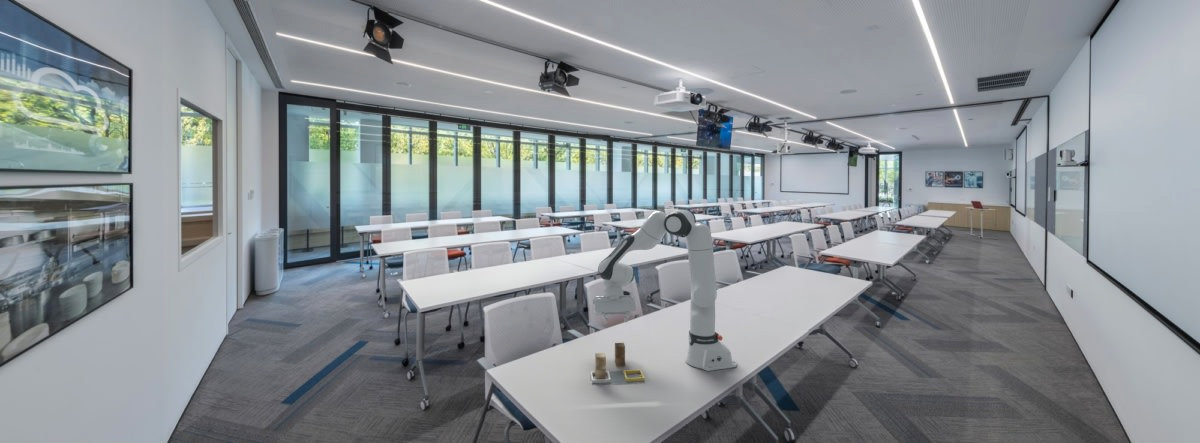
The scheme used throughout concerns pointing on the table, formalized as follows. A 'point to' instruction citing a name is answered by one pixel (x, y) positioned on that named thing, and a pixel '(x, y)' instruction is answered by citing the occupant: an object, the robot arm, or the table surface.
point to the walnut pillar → (619, 354)
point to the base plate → (619, 378)
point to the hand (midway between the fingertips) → (616, 322)
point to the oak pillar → (600, 365)
